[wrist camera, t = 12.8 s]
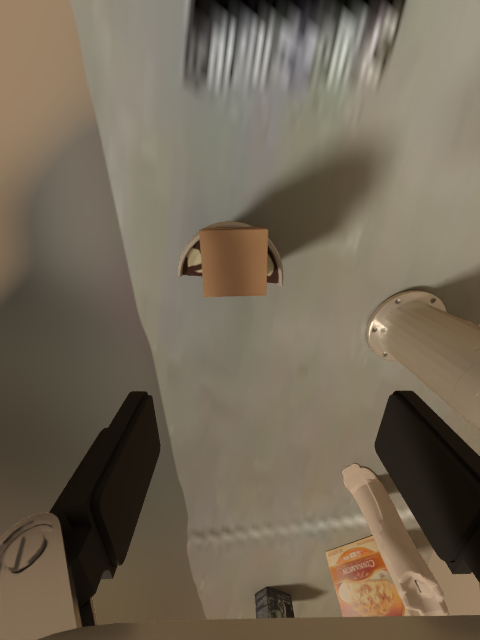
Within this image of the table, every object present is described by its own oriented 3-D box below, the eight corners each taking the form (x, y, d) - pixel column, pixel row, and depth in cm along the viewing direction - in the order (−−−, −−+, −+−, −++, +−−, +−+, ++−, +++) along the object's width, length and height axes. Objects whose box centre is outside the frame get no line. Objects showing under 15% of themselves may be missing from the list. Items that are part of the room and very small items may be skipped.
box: (291, 594, 78) (300, 647, 68) (278, 602, 80) (284, 655, 70) (266, 585, 75) (272, 639, 66) (253, 594, 77) (256, 647, 67)
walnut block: (260, 226, 24) (268, 229, 19) (259, 280, 27) (266, 295, 21) (205, 227, 24) (199, 230, 19) (209, 281, 26) (204, 296, 21)
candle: (361, 459, 53) (430, 586, 35) (387, 489, 58) (459, 616, 40) (333, 473, 55) (384, 602, 37) (360, 501, 60) (417, 629, 41)
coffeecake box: (374, 533, 65) (428, 653, 47) (383, 545, 68) (437, 663, 50) (324, 551, 68) (357, 671, 50) (333, 562, 71) (368, 679, 53)
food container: (279, 225, 34) (296, 228, 25) (272, 269, 36) (286, 287, 27) (189, 215, 33) (173, 215, 24) (188, 261, 35) (173, 277, 26)
